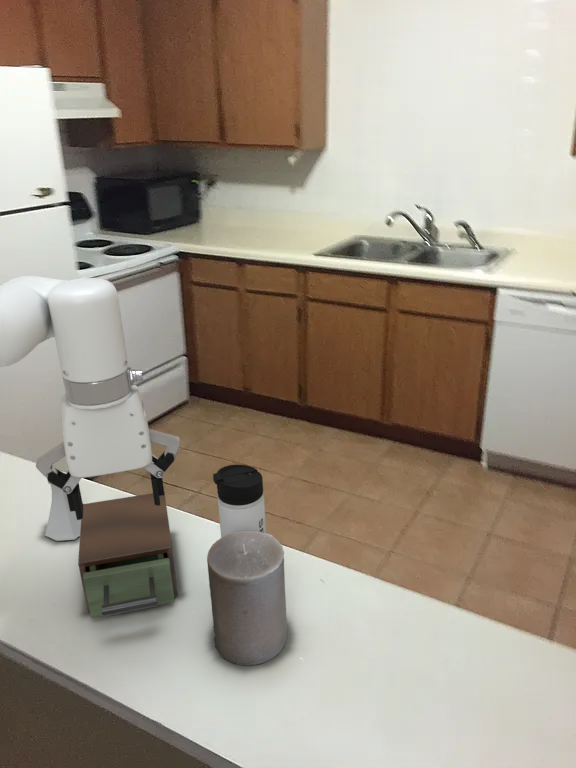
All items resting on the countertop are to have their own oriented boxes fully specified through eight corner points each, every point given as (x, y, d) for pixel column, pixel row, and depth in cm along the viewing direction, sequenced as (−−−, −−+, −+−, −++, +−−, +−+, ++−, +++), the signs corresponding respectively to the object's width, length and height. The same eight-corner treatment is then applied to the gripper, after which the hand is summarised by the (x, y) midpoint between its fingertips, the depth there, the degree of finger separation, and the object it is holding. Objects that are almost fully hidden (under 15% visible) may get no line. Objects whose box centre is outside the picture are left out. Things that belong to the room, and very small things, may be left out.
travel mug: (218, 583, 98) (207, 465, 90) (261, 571, 100) (254, 455, 92) (230, 611, 93) (219, 489, 85) (275, 598, 95) (268, 478, 87)
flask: (37, 539, 109) (25, 487, 105) (61, 514, 116) (50, 464, 112) (77, 544, 108) (66, 492, 104) (98, 518, 114) (89, 468, 110)
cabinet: (178, 595, 96) (172, 547, 93) (87, 612, 94) (78, 563, 90) (170, 535, 109) (164, 491, 106) (90, 549, 107) (82, 504, 103)
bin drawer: (178, 628, 89) (172, 588, 86) (89, 646, 87) (81, 605, 84) (167, 544, 106) (162, 508, 103) (93, 557, 103) (86, 520, 101)
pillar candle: (199, 648, 87) (189, 555, 81) (241, 602, 94) (234, 513, 88) (262, 677, 82) (256, 581, 76) (301, 626, 90) (298, 534, 84)
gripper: (168, 363, 84) (183, 480, 91) (23, 383, 80) (50, 503, 87) (175, 386, 77) (190, 510, 84) (17, 409, 73) (46, 537, 80)
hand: (119, 506), depth 85 cm, fingers open, 9 cm apart
